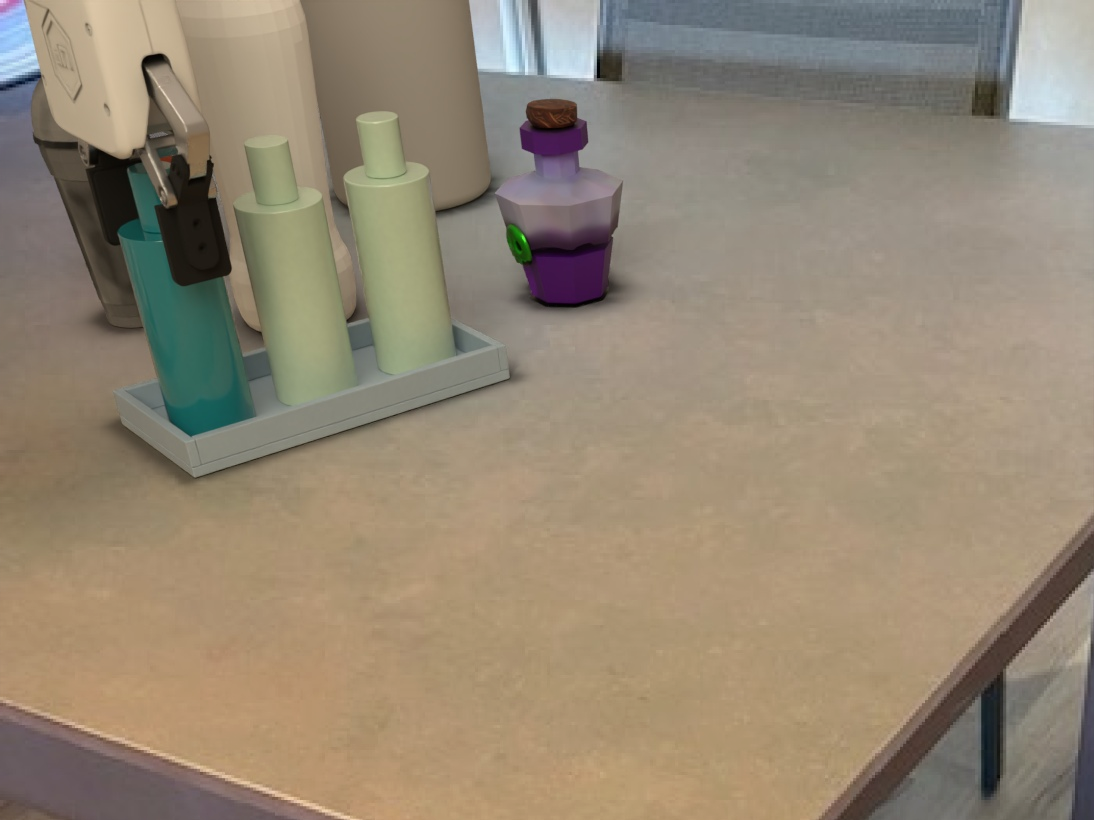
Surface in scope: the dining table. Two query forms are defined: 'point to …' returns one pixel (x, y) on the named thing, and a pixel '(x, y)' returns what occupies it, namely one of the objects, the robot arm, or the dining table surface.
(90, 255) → the beverage cup
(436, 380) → the tray
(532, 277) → the potion bottle
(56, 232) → the dining table surface
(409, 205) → the bottle
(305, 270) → the bottle
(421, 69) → the cylinder vase
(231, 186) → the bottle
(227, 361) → the loose bottle
